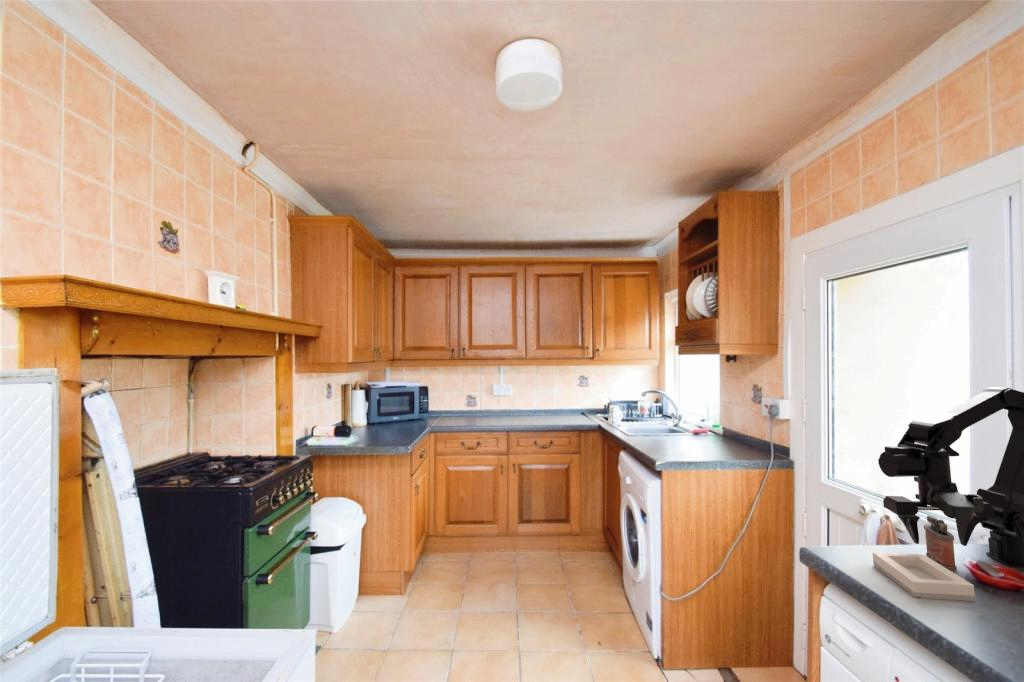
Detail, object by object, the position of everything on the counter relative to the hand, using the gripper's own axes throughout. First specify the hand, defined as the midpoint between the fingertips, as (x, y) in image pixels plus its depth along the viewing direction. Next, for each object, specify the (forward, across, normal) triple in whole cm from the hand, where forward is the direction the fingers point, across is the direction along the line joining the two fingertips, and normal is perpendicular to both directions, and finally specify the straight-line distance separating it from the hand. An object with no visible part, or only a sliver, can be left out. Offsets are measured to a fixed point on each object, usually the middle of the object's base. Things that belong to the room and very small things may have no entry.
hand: (939, 544), depth 102 cm
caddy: (+4, -10, -10) cm, 15 cm away
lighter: (+5, 0, 0) cm, 5 cm away
